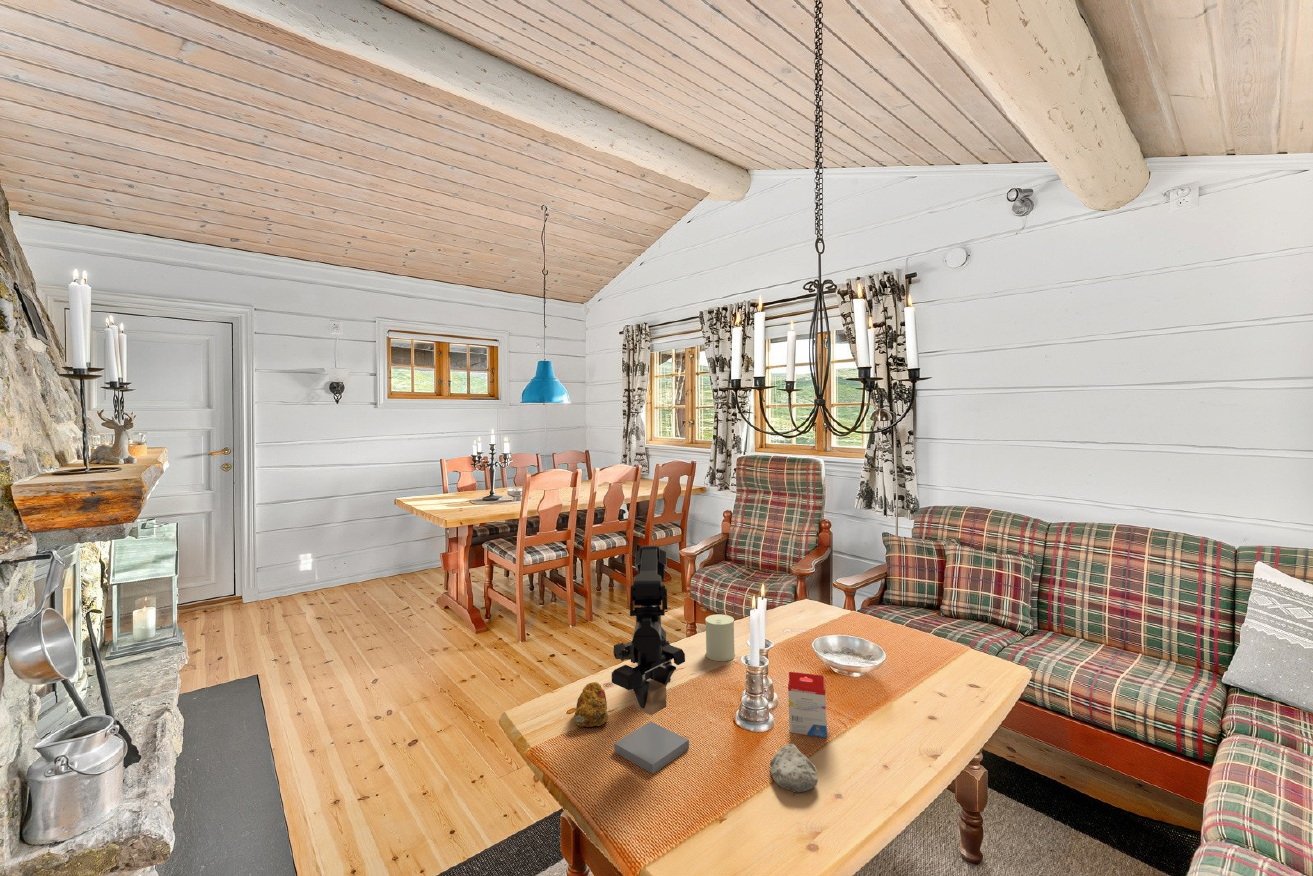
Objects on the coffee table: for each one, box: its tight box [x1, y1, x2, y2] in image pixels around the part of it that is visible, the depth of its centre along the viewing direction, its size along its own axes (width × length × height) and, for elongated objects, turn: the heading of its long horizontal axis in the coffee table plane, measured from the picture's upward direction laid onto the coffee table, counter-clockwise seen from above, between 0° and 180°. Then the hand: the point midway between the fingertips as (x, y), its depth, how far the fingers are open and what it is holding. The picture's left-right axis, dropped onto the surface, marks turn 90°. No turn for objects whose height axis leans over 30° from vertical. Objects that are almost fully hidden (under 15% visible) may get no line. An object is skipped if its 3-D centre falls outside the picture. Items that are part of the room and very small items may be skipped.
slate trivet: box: [613, 720, 690, 775], centre depth 124 cm, size 12×12×2 cm
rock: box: [573, 681, 609, 728], centre depth 139 cm, size 11×8×10 cm
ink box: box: [787, 671, 828, 739], centre depth 131 cm, size 8×5×15 cm, turn 71°
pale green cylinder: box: [705, 614, 736, 662], centre depth 174 cm, size 9×9×12 cm
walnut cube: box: [634, 679, 667, 717], centre depth 124 cm, size 5×5×5 cm
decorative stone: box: [769, 743, 819, 794], centre depth 114 cm, size 12×11×5 cm
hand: (650, 703), depth 124 cm, fingers closed on walnut cube, 5 cm apart
